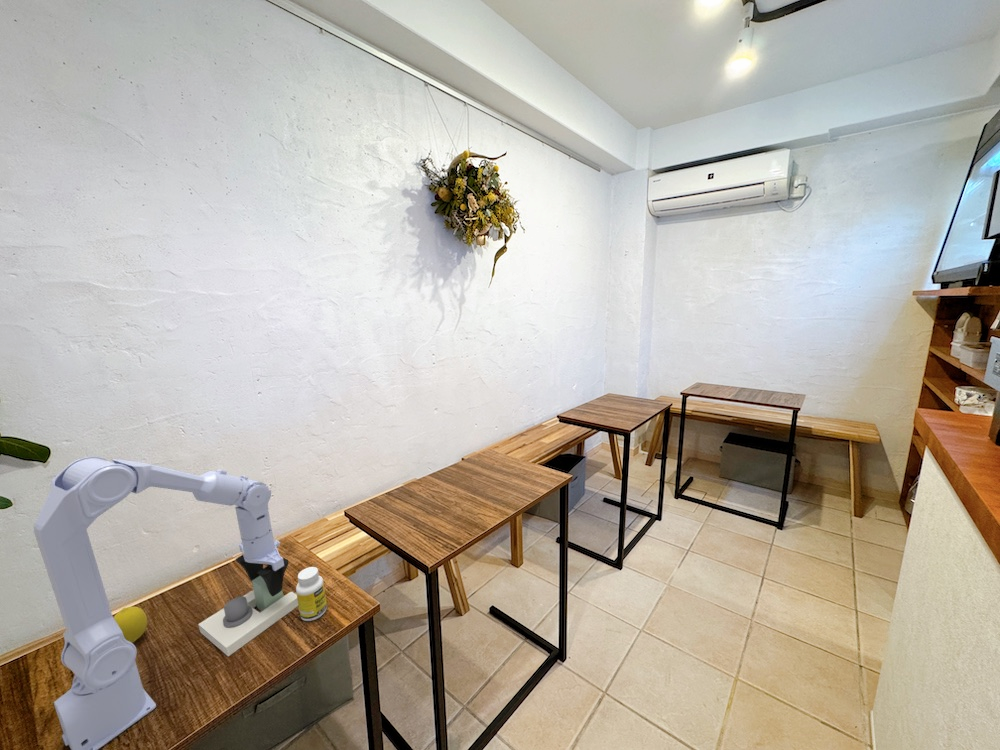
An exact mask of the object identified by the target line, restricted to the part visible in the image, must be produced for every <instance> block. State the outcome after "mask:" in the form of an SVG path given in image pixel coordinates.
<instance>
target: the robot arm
mask: <svg viewBox="0 0 1000 750" xmlns="http://www.w3.org/2000/svg"><path fill="white" fill-rule="evenodd" d="M227 473H228V471H227V470H223V469H219V468H218V469H217V470H216V471H214V470H210V471H207V472H204V473H203V474H200V475H197V474H193V473H188V472H185V471H182V470H177V469H172V468H168V467H164V466H160V465H156V464H151V463H147V462H142V461H135V460H127V459H126V460H125V459H118V458H117V459H115V458H111V459H110V461H108V460H107V459H105V458H102V457H99V456H85V457H82V458H79V459H76V460H73V461H72V462H70V463H69V464H68V465H66V467H64V468H63V469H62V470H60V471H59V473H57V475H55V476H54V477H53V478H52V479H51V482H50V488H49V489H50V490H49V493H48V494H47V497H46V499H45V501H44V503H43V505H42V507H41V510H40V512H39V514H38V516H37V518H36V520H35V522H34V524H33V533H34V535H35V539H36V542H37V545H38V548H39V551H40V554H41V557H42V560H43V563H44V566H45V569H46V572H47V575H48V578H49V582H50V584H51V587H52V591H53V594H54V597H55V600H56V602H57V606H58V610H59V612H60V615H61V618H62V621H63V625H64V627H65V631H64V632H63V633H62V636H63V639H64V640H63V641H64V646H63V649H62V652H61V656H60V660H61V663H62V665H63V666H64V667H66V668H68V669H69V670H70V671H71V672H73V674H74V675H73V679H72V684H71V688H69V690H67V691H66V692H65V693H64V694H63V695H61V696H60V697H58V698H57V699H55V700H54V701H53V705H54V708H55V711H56V714H57V717H58V720H59V723H60V724H59V725H60V727H61V729H62V732H63V734H62V735H61V737H62V740H63V743H64V744H65V746H66V747H67V746H69V748H70V750H99V749H101V748H102V747H103V746H105V745H106V744H108V743H109V742H110V741H112V740H113V739H115V738H116V737H117V736H119V735H120V734H121V733H123V732H124V731H126V730H127V729H128V728H130V727H131V726H133V725H134V724H135V723H137V722H138V721H140V720H141V719H143V718H144V717H145V716H146V715H148V714H149V713H151V712H152V711H153V710H155V708H157V703H156V702H155V700H153V699H152V697H151V696H150V695H149V694H148V693H147V691H146V690H145V689H144V686H143V683H142V680H141V677H140V673H139V668H138V665H137V662H136V657H137V654H138V653H137V652H138V651H137V647H136V645H135V644H134V642H133V643H131V642H129V641H127V640H126V639H125V638H124V636H123V632H122V630H121V629H120V627H119V626H118V624H117V623H116V621H115V619H114V618H113V617H114V616H113V613H112V610H111V607H110V603H109V600H108V596H107V593H106V590H105V587H104V583H103V580H102V577H101V574H100V569H99V567H98V563H97V560H96V556H95V552H94V549H93V547H92V543H91V540H90V536H89V533H88V529H89V527H90V526H91V525H92V524H93V522H95V521H96V519H98V517H100V516H101V515H103V514H104V513H105V512H107V511H109V510H110V509H111V508H113V507H115V506H116V505H118V504H119V503H120V502H122V501H123V500H125V499H126V497H128V496H129V495H130V494H131V493H132V494H139V493H142V492H143V491H145V490H147V489H148V488H151V487H153V488H159V489H168V490H173V491H182V492H187V493H188V492H189V493H192V495H193V496H194V498H195V500H196V501H199V502H204V503H208V504H209V503H210V504H217V505H223V506H235V507H234V509H235V514H236V519H237V523H238V524H237V525H238V528H239V533H240V539H241V542H240V543H239V544H238V547H239V551H240V552H241V553H242V555H240V556H238V557H236V559H235V561H236V562H237V563H238V564H239V565H240V566H241V567H242V568H243V570H244V571H245V572H246V575H247V576H248V579H249V580H250V583H252V580H254V579H255V578H257V577H259V576H261V577H262V578H263V580H264V581H265V583H266V585H267V588H268V591H269V593H270V595H271V596H275V595H276V594H278V593H279V592H281V591H283V586H284V585H283V584H284V583H283V582H284V577H285V576H284V575H285V573H286V570H287V568H288V565H289V564H290V563H289V560H288V559H287V558H286V557H282V556H281V555H280V553H279V550H278V547H279V546H280V545H281V542H280V541H279V540H277V539H274V534H273V528H272V524H271V518H270V513H269V512H270V511H269V502H270V499H271V497H272V489H270V488H269V486H267V484H266V483H264V482H260V481H259V480H254V479H250V478H249V477H248V476H246V475H240V476H236V475H231V474H227ZM264 565H266V566H265V567H264Z"/></svg>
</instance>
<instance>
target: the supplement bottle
mask: <svg viewBox="0 0 1000 750" xmlns="http://www.w3.org/2000/svg"><path fill="white" fill-rule="evenodd" d="M319 574H320V572H319V568H317V567H316V566H309V567H306V568H303V569H302V570H301V571H299V572H298V574H297V582H298V583H297V584H296V586H295V594H297V600H298V606H297V607H298V610H299V616H300V619H301V620H302V621H305V622H311V621H315V620H317V619H319V618H321V617H322V616H323V615H324V614H325V613H326V611H327V608H328V602H327V596H326V590H325V584H324V579H323V577H322V576H321V575H319Z"/></svg>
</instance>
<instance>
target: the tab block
mask: <svg viewBox="0 0 1000 750" xmlns="http://www.w3.org/2000/svg"><path fill="white" fill-rule="evenodd" d="M251 584H252V590H254V595H255V600H256V605H257V606H256V608H257V609H258V610H259V611H260V612H262V611H263V610H265V609H266V608H268V607H269V606H270V605H272V604H273V603H275V602H276V601H278V600H279V599H281V598H282V597H284V592H283V590H282V591H281V592H279V593H278V594H276V595H275V596H271V595H270V593H269V591H268V588H267V585H266V583H265V581H264V580H263V578H262V577H261V576H259V577H257V578H255V579H254V580H252V582H251Z"/></svg>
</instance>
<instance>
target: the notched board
mask: <svg viewBox="0 0 1000 750" xmlns="http://www.w3.org/2000/svg"><path fill="white" fill-rule="evenodd" d="M297 607H299V606H298V600H297V594H296V592H293V591H290V592H288V593H287V594H285V595H283V597H282V598H281V599H279V600H278V601H276V602H275V603H273V604H272V605H270V606H269V607H268V608H266V609H265V610H263V611H258V610H257V609H255V608H257V605H256V600H255V595H254V590H253V589H252V590H250V591H249V592H247V593H245V594H244V595H243V596H242V595H241V596H236V597H234V598H232V599H230V600H229V601H227V602H226V603H225V604H224V606H223V608H222V609H219V611H217V612H215V613H214V614H212V615H211V616H209V617H208V618H205V619H204V620H203V621H201V622H199V623H198V624H197V625H198V629H199V632H200V634H201V635H202V636H204V637H205V638H206V639H207V640H208V641H210V643H212V644H213V645H214V646H215V647H217V648H218V649H219V650H220V651H221V652H222V653H224V655H226V656H227V657H230V656H231V655H233V654H234V653H235V652H237V651H238V650H239V649H240V648H242V647H244V646H245V645H247V644H248V643H249V642H250V641H252V640H253V639H255V638H256V637H257V636H259V635H260V634H261V633H263V632H265V630H267V629H268V628H269V627H271V626H273V625H274V624H275V623H277V622H278V621H279V620H281V619H282V618H284V617H285V616H286V615H288V614H289V613H290V612H292V611H293V610H295V609H296V608H297Z"/></svg>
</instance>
